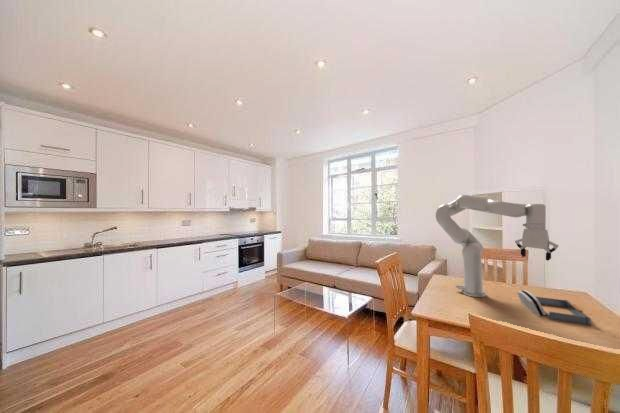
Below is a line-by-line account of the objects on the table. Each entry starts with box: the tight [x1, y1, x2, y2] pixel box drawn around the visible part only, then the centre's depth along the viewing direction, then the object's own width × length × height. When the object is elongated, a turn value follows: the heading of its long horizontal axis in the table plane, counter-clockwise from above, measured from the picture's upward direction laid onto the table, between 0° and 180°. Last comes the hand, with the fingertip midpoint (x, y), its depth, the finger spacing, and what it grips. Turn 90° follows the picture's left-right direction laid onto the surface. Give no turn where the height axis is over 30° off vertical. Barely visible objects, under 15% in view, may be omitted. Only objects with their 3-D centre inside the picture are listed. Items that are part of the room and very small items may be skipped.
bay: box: [535, 296, 592, 327], centre depth 117 cm, size 13×23×4 cm, turn 150°
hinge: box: [516, 289, 549, 317], centre depth 122 cm, size 17×5×10 cm, turn 159°
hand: (535, 258), depth 125 cm, fingers open, 9 cm apart
